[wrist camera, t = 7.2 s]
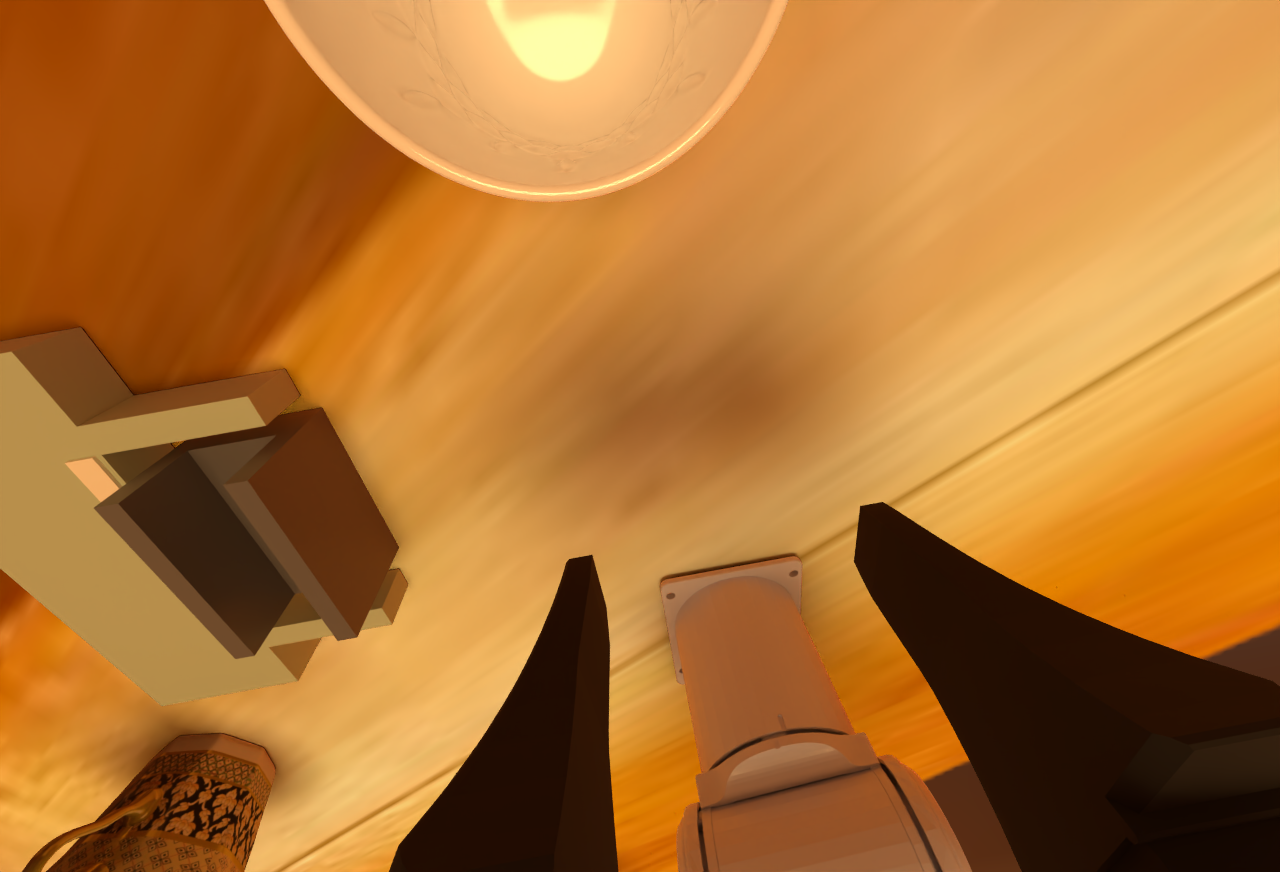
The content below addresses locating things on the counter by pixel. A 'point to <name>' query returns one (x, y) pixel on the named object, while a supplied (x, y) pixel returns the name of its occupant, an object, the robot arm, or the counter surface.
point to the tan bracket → (88, 546)
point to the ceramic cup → (176, 813)
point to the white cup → (535, 82)
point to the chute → (259, 529)
